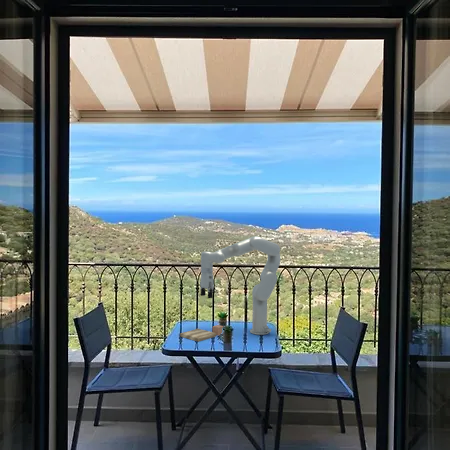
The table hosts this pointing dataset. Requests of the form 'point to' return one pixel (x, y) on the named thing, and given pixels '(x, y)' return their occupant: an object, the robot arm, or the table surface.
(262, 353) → the table surface
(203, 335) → the oak board
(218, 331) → the cube
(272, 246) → the robot arm
